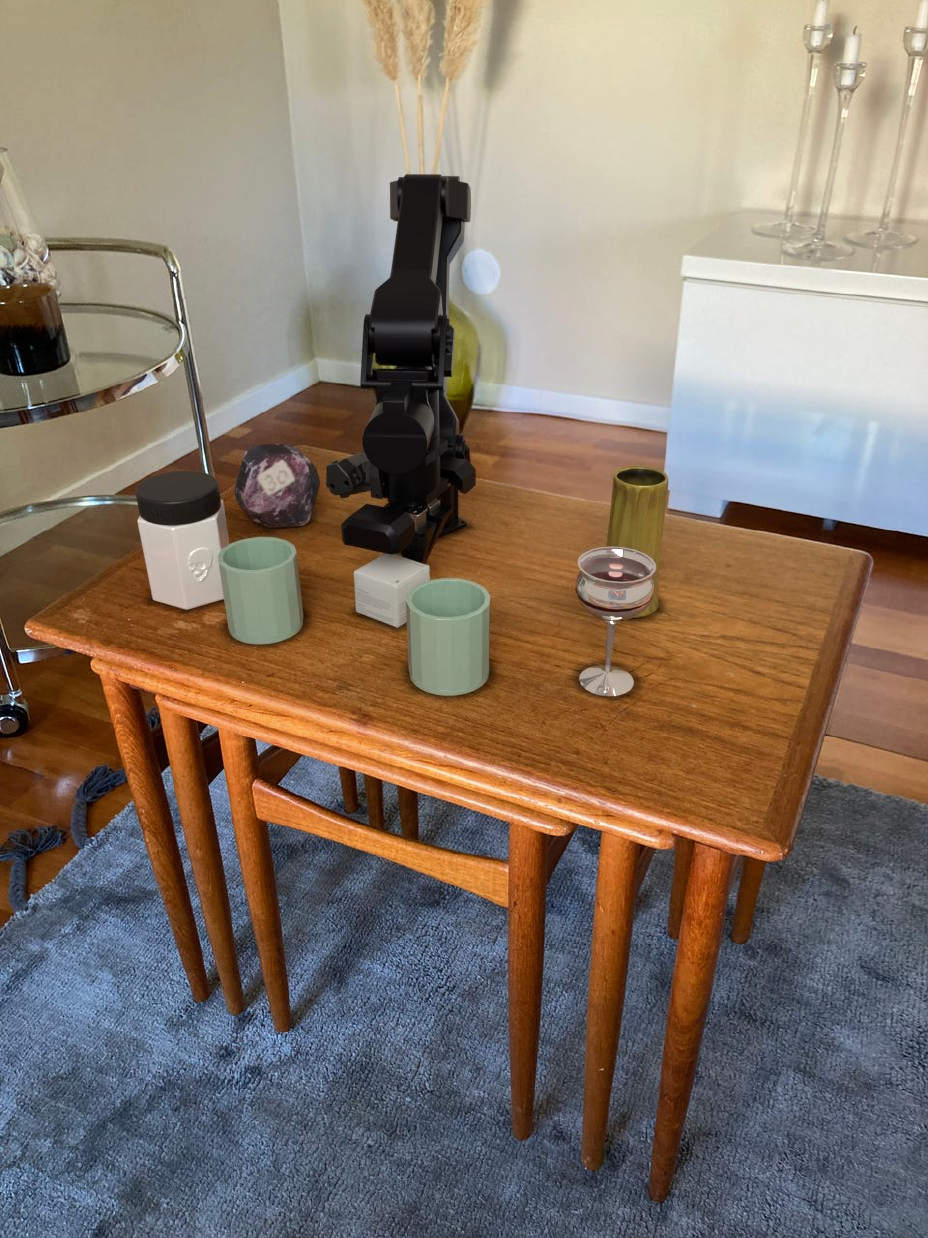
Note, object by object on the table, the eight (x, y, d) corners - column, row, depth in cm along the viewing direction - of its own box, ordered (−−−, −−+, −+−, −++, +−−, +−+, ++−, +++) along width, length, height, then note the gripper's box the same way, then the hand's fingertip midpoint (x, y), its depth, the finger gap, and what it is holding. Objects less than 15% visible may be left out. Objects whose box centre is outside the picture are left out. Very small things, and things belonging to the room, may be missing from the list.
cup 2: (454, 642, 93) (453, 569, 89) (505, 675, 89) (507, 600, 84) (393, 670, 89) (389, 595, 85) (443, 706, 84) (442, 628, 80)
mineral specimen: (215, 523, 112) (221, 436, 111) (261, 522, 122) (267, 442, 121) (289, 533, 109) (296, 444, 108) (330, 531, 119) (337, 450, 118)
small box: (432, 606, 99) (431, 564, 97) (397, 630, 95) (395, 587, 93) (389, 590, 102) (387, 549, 100) (354, 613, 98) (351, 570, 96)
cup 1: (279, 598, 101) (271, 530, 97) (317, 627, 96) (310, 555, 92) (215, 622, 97) (203, 551, 93) (251, 653, 92) (241, 579, 88)
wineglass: (656, 694, 86) (671, 576, 80) (586, 707, 84) (595, 588, 78) (624, 655, 91) (635, 541, 85) (558, 666, 90) (564, 552, 84)
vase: (664, 596, 101) (680, 469, 94) (648, 624, 96) (663, 492, 89) (608, 585, 103) (619, 459, 96) (590, 611, 98) (600, 481, 91)
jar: (166, 618, 97) (145, 510, 91) (141, 585, 103) (120, 481, 97) (249, 594, 102) (234, 489, 95) (220, 563, 107) (205, 463, 101)
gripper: (384, 395, 104) (390, 526, 112) (287, 454, 89) (302, 599, 97) (478, 409, 100) (477, 544, 108) (392, 473, 85) (399, 623, 93)
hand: (415, 574), depth 102 cm, fingers closed
